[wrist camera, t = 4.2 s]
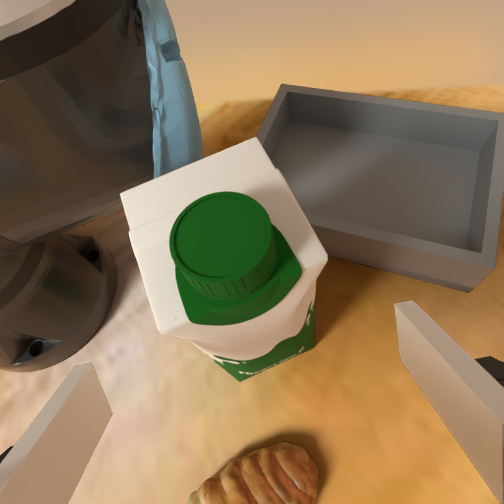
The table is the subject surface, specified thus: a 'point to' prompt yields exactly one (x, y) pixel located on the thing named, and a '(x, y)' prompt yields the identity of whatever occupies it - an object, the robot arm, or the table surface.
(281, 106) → the bin
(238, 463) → the pastry
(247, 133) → the table surface
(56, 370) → the table surface
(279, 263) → the soya milk
